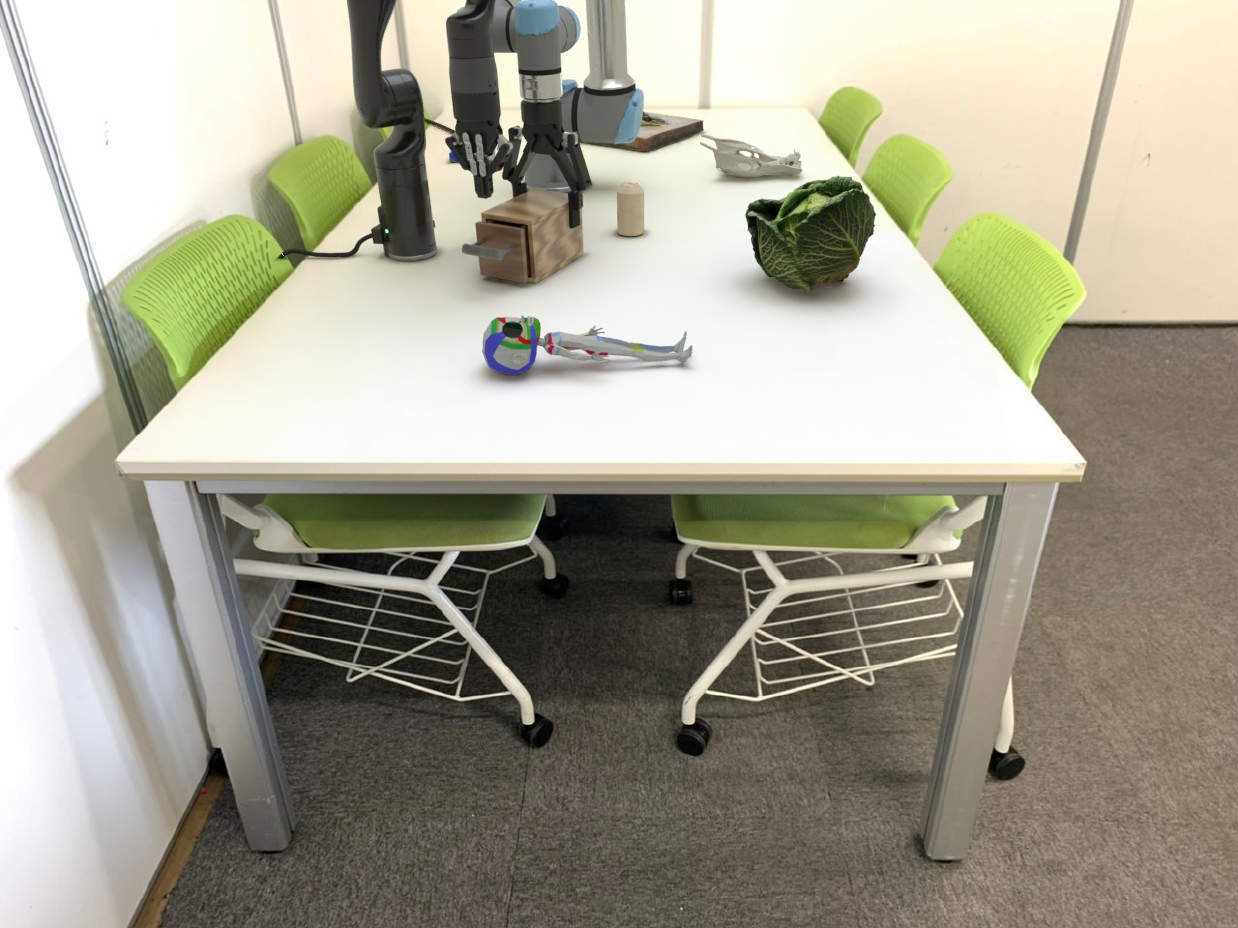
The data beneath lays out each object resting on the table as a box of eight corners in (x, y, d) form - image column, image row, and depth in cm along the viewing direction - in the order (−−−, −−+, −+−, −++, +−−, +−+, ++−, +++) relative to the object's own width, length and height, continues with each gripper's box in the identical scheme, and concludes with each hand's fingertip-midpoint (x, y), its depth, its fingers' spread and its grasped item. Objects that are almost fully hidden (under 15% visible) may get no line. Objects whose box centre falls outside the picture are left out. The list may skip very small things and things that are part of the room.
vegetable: (771, 309, 166) (722, 214, 159) (855, 252, 168) (810, 155, 160) (822, 325, 148) (769, 219, 140) (916, 260, 149) (868, 151, 142)
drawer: (506, 294, 154) (501, 240, 149) (461, 285, 158) (455, 232, 153) (570, 255, 170) (568, 205, 165) (528, 248, 174) (524, 199, 169)
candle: (647, 229, 186) (647, 180, 180) (639, 237, 181) (639, 187, 176) (622, 227, 187) (621, 178, 182) (613, 235, 183) (612, 185, 177)
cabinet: (535, 283, 161) (531, 220, 155) (486, 274, 165) (480, 213, 159) (583, 254, 173) (581, 195, 167) (536, 246, 178) (533, 188, 172)
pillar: (476, 136, 251) (456, 154, 234) (476, 144, 252) (457, 162, 235) (468, 136, 251) (448, 153, 234) (469, 144, 252) (449, 162, 236)
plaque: (647, 125, 237) (559, 112, 252) (647, 153, 241) (560, 139, 256) (706, 107, 258) (622, 97, 273) (705, 133, 262) (622, 121, 277)
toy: (697, 344, 127) (483, 326, 122) (687, 397, 131) (480, 382, 126) (685, 315, 135) (485, 298, 130) (676, 366, 139) (482, 351, 135)
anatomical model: (702, 130, 224) (803, 129, 220) (702, 168, 229) (801, 167, 225) (697, 145, 212) (805, 144, 208) (697, 184, 216) (802, 184, 213)
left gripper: (426, 88, 141) (439, 198, 150) (495, 94, 136) (505, 208, 145) (455, 80, 147) (466, 187, 156) (522, 86, 141) (530, 196, 150)
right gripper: (475, 97, 160) (486, 220, 171) (588, 107, 150) (592, 236, 162) (499, 90, 165) (508, 209, 177) (609, 100, 156) (612, 225, 168)
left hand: (485, 197), depth 150 cm, fingers closed
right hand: (548, 222), depth 170 cm, fingers closed on cabinet, 11 cm apart
